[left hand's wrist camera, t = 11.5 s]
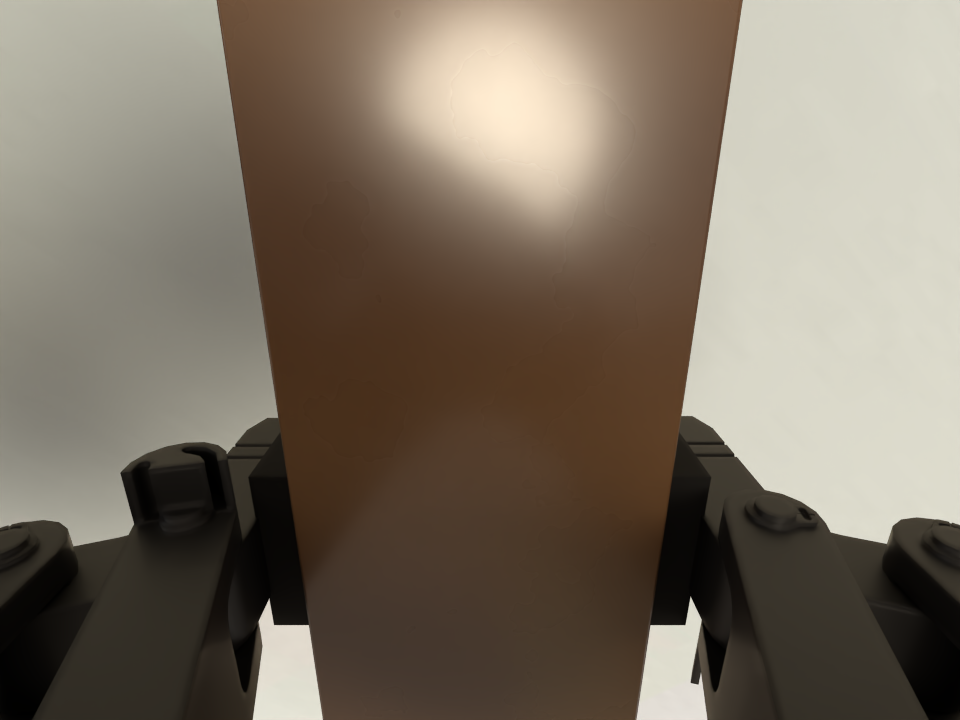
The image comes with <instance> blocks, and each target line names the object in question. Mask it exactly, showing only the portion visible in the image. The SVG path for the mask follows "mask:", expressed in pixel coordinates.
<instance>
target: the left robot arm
mask: <svg viewBox="0 0 960 720" xmlns="http://www.w3.org/2000/svg"><path fill="white" fill-rule="evenodd" d="M235 445H236V446H235V447H233V448H232V449H231V450H230V451H229V453H228V454H227V453H226V451H225V450H224V449H223V448H221V447H220V446H219V445H215V444H210V443H205V442H198V443H183V444H178V445H172V446H167V447H164V448H161V449H158V450H156V451H153V452H150V453H147V454H145V455H143V456H142V457H140V458H138V459H136V460H135V461H133V462H131V463H130V464H129V465H128V466H127V467H126V468H125V469H124V470H123V471H122V472H121V477H122V480H123V484H124V488H125V491H126V495H127V499H128V503H129V506H130V510H131V514H132V517H133V521H134V526H133V528H132V530H131V531H130V533H129V535H127V536H124V537H120V538H115V539H110V540H105V541H100V542H95V543H89V544H84V545H79V546H74V547H73V544H72V541H71V538H70V535H69V532H68V529H67V528H66V527H65V526H63V525H62V524H61V523H59V522H53V521H46V520H41V521H32V522H21V523H17V524H12V525H11V526H5V527H2V528H0V720H253V713H254V705H255V698H256V690H257V683H258V675H259V668H260V660H261V653H262V640H261V633H260V627H259V622H258V621H259V619H260V617H261V615H262V613H263V611H264V608H265V606H266V604H267V602H268V600H269V598H270V604H271V610H272V615H273V621H274V625H309V621H308V614H307V608H306V601H305V594H304V587H303V581H302V574H301V567H300V560H299V554H298V547H297V540H296V533H295V526H294V520H293V513H292V506H291V499H290V493H289V486H288V479H287V472H286V466H285V459H284V452H283V445H282V439H281V432H280V425H279V418H267V419H265V420H263V421H262V422H260V423H258V424H257V425H255V426H253V427H252V428H250V429H248V430H247V431H246V432H245V433H244V435H243V436H242V437H241V438H240V439H239V441H238V442H237V443H236V444H235ZM690 596H691V598H692V600H693V602H694V604H695V606H696V609H697V611H698V613H699V615H700V617H701V619H702V622H701V627H700V633H699V638H698V643H697V649H696V654H695V659H694V664H693V670H692V677H691V683H694V684H699V679H700V674H702V682H703V689H704V696H705V704H706V711H707V719H708V720H960V525H958V524H955V523H952V524H951V523H949V522H947V521H943V520H934V519H925V518H910V519H902V520H900V521H899V522H898V523H896V524H895V525H894V526H893V527H892V530H891V533H890V536H889V540H888V543H887V544H884V543H879V542H873V541H868V540H863V539H858V538H853V537H848V536H843V535H838V534H834V533H831V532H830V530H829V529H828V527H827V525H826V523H825V522H824V521H823V519H822V518H821V517H820V516H819V515H818V514H817V512H815V511H814V510H812V509H811V508H809V507H808V506H806V505H805V504H803V503H802V502H800V501H798V500H795V499H793V498H791V497H788V496H786V495H783V494H780V493H775V492H771V491H766V490H764V489H763V488H762V486H761V485H760V484H759V483H758V482H757V480H756V479H755V478H754V477H753V476H752V475H751V473H750V472H749V471H748V470H747V469H746V467H745V466H744V465H743V464H742V463H741V461H740V460H739V459H738V458H737V457H734V453H733V452H732V451H731V450H730V448H729V447H728V446H727V445H724V441H723V440H722V439H721V438H720V436H719V435H718V434H717V433H716V432H715V431H714V429H713V428H711V427H710V426H708V425H706V424H705V423H703V422H701V421H700V420H698V419H696V418H694V417H693V416H681V421H680V427H679V434H678V441H677V448H676V455H675V461H674V468H673V475H672V482H671V488H670V495H669V502H668V509H667V515H666V522H665V529H664V536H663V543H662V549H661V556H660V563H659V570H658V576H657V583H656V590H655V597H654V603H653V610H652V617H651V624H650V625H685V624H686V619H687V613H688V607H689V602H690Z"/></svg>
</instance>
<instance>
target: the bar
mask: <svg viewBox="0 0 960 720" xmlns="http://www.w3.org/2000/svg"><path fill="white" fill-rule="evenodd" d="M742 1H743V0H217V6H218V13H219V19H220V26H221V33H222V40H223V46H224V53H225V60H226V67H227V73H228V80H229V87H230V94H231V101H232V107H233V114H234V121H235V128H236V134H237V141H238V148H239V155H240V161H241V168H242V175H243V182H244V188H245V195H246V202H247V209H248V215H249V222H250V229H251V236H252V242H253V249H254V256H255V263H256V270H257V276H258V283H259V290H260V297H261V303H262V310H263V317H264V324H265V330H266V337H267V344H268V351H269V357H270V364H271V371H272V378H273V384H274V391H275V398H276V405H277V412H278V418H279V425H280V432H281V439H282V445H283V452H284V459H285V466H286V472H287V479H288V486H289V493H290V499H291V506H292V513H293V520H294V526H295V533H296V540H297V547H298V554H299V560H300V567H301V574H302V581H303V587H304V594H305V601H306V608H307V614H308V621H309V628H310V635H311V641H312V648H313V655H314V662H315V668H316V675H317V682H318V689H319V695H320V702H321V709H322V716H323V720H636V718H637V712H638V705H639V698H640V691H641V685H642V678H643V671H644V664H645V658H646V651H647V644H648V637H649V630H650V624H651V617H652V610H653V603H654V597H655V590H656V583H657V576H658V570H659V563H660V556H661V549H662V543H663V536H664V529H665V522H666V515H667V509H668V502H669V495H670V488H671V482H672V475H673V468H674V461H675V455H676V448H677V441H678V434H679V427H680V421H681V414H682V407H683V400H684V394H685V387H686V380H687V373H688V367H689V360H690V353H691V346H692V340H693V333H694V326H695V319H696V312H697V306H698V299H699V292H700V285H701V279H702V272H703V265H704V258H705V252H706V245H707V238H708V231H709V225H710V218H711V211H712V204H713V197H714V191H715V184H716V177H717V170H718V164H719V157H720V150H721V143H722V137H723V130H724V123H725V116H726V110H727V103H728V96H729V89H730V82H731V76H732V69H733V62H734V55H735V49H736V42H737V35H738V28H739V22H740V15H741V8H742Z"/></svg>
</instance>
